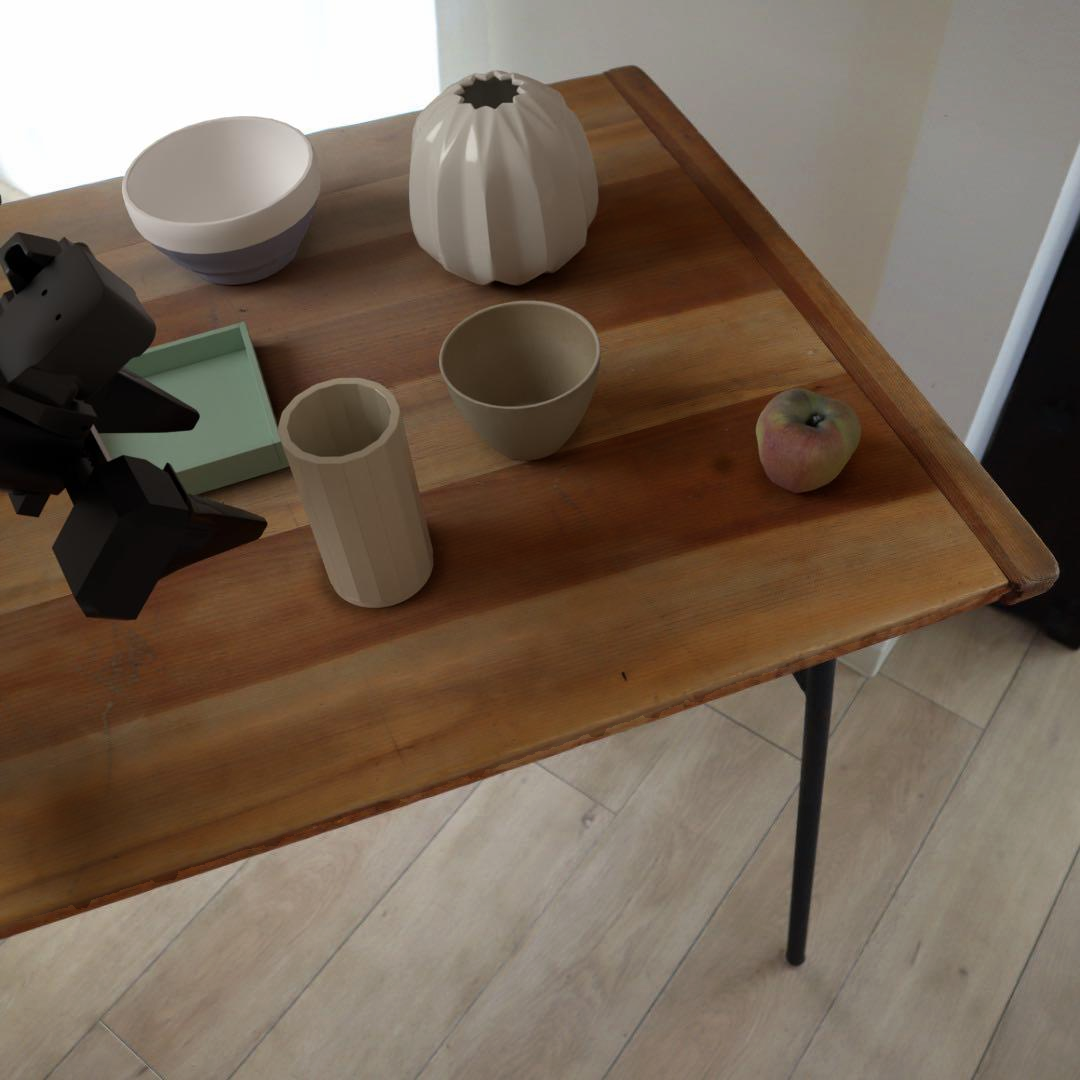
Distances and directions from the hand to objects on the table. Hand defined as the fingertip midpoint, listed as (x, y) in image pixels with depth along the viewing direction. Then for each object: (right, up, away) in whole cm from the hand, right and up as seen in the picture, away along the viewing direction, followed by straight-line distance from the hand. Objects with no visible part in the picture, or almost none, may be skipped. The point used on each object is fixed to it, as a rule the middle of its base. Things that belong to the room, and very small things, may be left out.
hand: (228, 472), depth 60 cm
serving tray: (-9, +4, +20) cm, 22 cm away
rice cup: (+6, -5, +11) cm, 14 cm away
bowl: (-7, +19, +33) cm, 39 cm away
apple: (+32, +1, +14) cm, 35 cm away
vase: (+14, +18, +30) cm, 38 cm away
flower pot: (+15, +3, +18) cm, 24 cm away
